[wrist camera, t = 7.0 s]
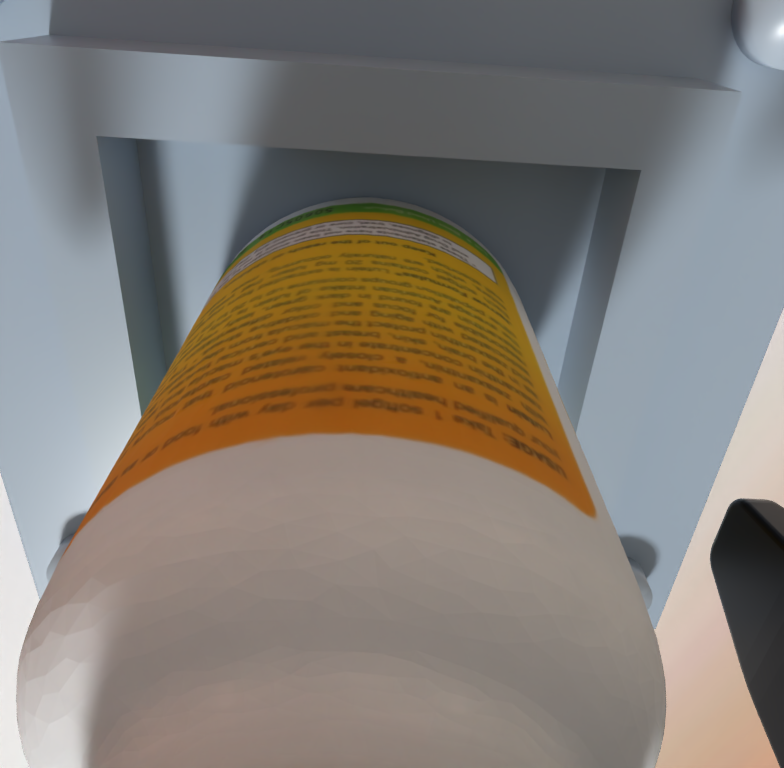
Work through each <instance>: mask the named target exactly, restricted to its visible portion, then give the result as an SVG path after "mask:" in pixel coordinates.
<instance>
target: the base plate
mask: <svg viewBox="0 0 784 768" xmlns="http://www.w3.org/2000/svg"><path fill="white" fill-rule="evenodd" d="M356 197H373V198H382V199H391V200H396V201H401V202H406V203H409V204H413V205H416V206H419V207H422V208H424V209H427V210H430V211H432V212H434V213H436V214H439V215H441V216H443V217H444V218H446V219H448V220H450V221H452V222H453V223H455V224H457V225H458V226H460V227H462V228H463V229H464V230H466V231H467V232H468V233H470V234H471V235H472V236H473V237H475V238H476V239H477V240H478V241H479V242H481V243H482V244H483V245H484V246H485V247H486V248H487V249H488V250H489V251H490V252H491V254H492V255H493V256H494V257H495V258H496V259H497V260H498V261H499V263H500V264H501V266H502V267H503V269H504V270H505V272H506V273H507V275H508V277H509V279H510V280H511V282H512V284H513V285H514V287H515V289H516V291H517V293H518V295H519V297H520V300H521V302H522V304H523V307H524V309H525V312H526V314H527V317H528V319H529V321H530V324H531V326H532V328H533V331H534V333H535V336H536V338H537V341H538V343H539V345H540V348H541V351H542V353H543V355H544V358H545V360H546V363H547V365H548V368H549V370H550V373H551V375H552V378H553V380H554V382H555V385H556V387H557V390H558V392H559V395H560V397H561V400H562V402H563V404H564V407H565V409H566V412H567V414H568V417H569V419H570V421H571V424H572V426H573V429H574V431H575V434H576V436H577V438H578V441H579V443H580V446H581V448H582V450H583V453H584V455H585V458H586V460H587V462H588V465H589V467H590V470H591V472H592V474H593V477H594V479H595V482H596V484H597V486H598V489H599V491H600V494H601V496H602V499H603V501H604V503H605V506H606V508H607V511H608V513H609V515H610V518H611V520H612V522H613V525H614V527H615V529H616V532H617V534H618V537H619V539H620V541H621V544H622V546H623V548H624V551H625V553H626V556H627V558H628V561H629V563H630V566H631V568H632V571H633V573H634V576H635V578H636V581H637V583H638V586H639V588H640V591H641V594H642V597H643V599H644V602H645V605H646V608H647V611H648V614H649V617H650V620H651V623H652V626H653V629H656V626H657V624H658V621H659V619H660V616H661V614H662V611H663V609H664V606H665V604H666V601H667V599H668V596H669V594H670V591H671V589H672V586H673V584H674V581H675V579H676V576H677V574H678V571H679V569H680V566H681V564H682V561H683V559H684V556H685V553H686V551H687V548H688V546H689V543H690V541H691V538H692V536H693V533H694V531H695V528H696V526H697V523H698V521H699V518H700V516H701V513H702V511H703V508H704V506H705V503H706V501H707V498H708V496H709V493H710V491H711V488H712V486H713V483H714V481H715V478H716V476H717V473H718V471H719V468H720V466H721V463H722V461H723V458H724V456H725V453H726V451H727V448H728V446H729V443H730V441H731V438H732V436H733V433H734V431H735V428H736V426H737V423H738V420H739V418H740V415H741V413H742V410H743V408H744V405H745V403H746V400H747V398H748V395H749V393H750V390H751V388H752V385H753V383H754V380H755V378H756V375H757V373H758V370H759V368H760V365H761V363H762V360H763V358H764V355H765V353H766V350H767V348H768V345H769V343H770V340H771V338H772V335H773V333H774V330H775V328H776V325H777V323H778V320H779V318H780V315H781V313H782V310H783V308H784V0H0V473H1V476H2V479H3V482H4V486H5V489H6V492H7V495H8V499H9V502H10V505H11V508H12V511H13V515H14V518H15V521H16V524H17V528H18V531H19V534H20V537H21V541H22V544H23V547H24V550H25V554H26V557H27V560H28V563H29V566H30V570H31V573H32V576H33V579H34V583H35V586H36V589H37V592H38V596H39V599H41V597H42V595H43V593H44V591H45V589H46V587H47V585H48V583H49V581H50V579H51V577H52V575H53V573H54V571H55V568H56V566H57V564H58V562H59V560H60V559H61V557H62V555H63V553H64V552H65V550H66V548H67V547H68V545H69V543H70V541H71V540H72V538H73V536H74V534H75V533H76V531H77V529H78V528H79V526H80V524H81V522H82V521H83V519H84V517H85V515H86V514H87V512H88V510H89V508H90V507H91V505H92V503H93V501H94V500H95V498H96V496H97V494H98V493H99V491H100V489H101V487H102V486H103V484H104V482H105V480H106V479H107V477H108V475H109V473H110V472H111V470H112V468H113V466H114V465H115V463H116V461H117V460H118V458H119V456H120V454H121V453H122V451H123V449H124V448H125V446H126V444H127V442H128V440H129V439H130V437H131V435H132V433H133V432H134V430H135V428H136V426H137V424H138V423H139V421H140V419H141V417H142V416H143V414H144V412H145V410H146V409H147V407H148V405H149V403H150V402H151V400H152V398H153V396H154V395H155V393H156V391H157V389H158V387H159V386H160V384H161V382H162V380H163V378H164V377H165V375H166V373H167V371H168V370H169V368H170V366H171V365H172V363H173V361H174V359H175V358H176V356H177V354H178V353H179V351H180V349H181V347H182V345H183V343H184V342H185V340H186V338H187V336H188V334H189V332H190V331H191V329H192V327H193V325H194V324H195V322H196V320H197V318H198V317H199V315H200V313H201V311H202V309H203V307H204V305H205V304H206V302H207V300H208V298H209V297H210V295H211V293H212V291H213V289H214V288H215V286H216V284H217V283H218V281H219V279H220V278H221V276H222V275H223V273H224V272H225V270H226V269H227V267H228V266H229V265H230V264H231V262H232V261H233V260H234V258H235V257H236V255H237V254H238V253H239V252H240V251H241V250H242V249H243V248H244V247H245V246H246V245H247V244H248V243H249V242H250V241H251V240H252V239H253V238H254V237H255V236H257V235H258V234H259V233H260V232H262V231H263V230H264V229H266V228H267V227H268V226H270V225H271V224H273V223H275V222H276V221H278V220H280V219H282V218H284V217H286V216H288V215H290V214H292V213H294V212H296V211H299V210H301V209H304V208H307V207H310V206H313V205H316V204H320V203H323V202H328V201H333V200H339V199H346V198H356Z"/></svg>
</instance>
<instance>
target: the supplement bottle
mask: <svg viewBox="0 0 784 768" xmlns="http://www.w3.org/2000/svg"><path fill="white" fill-rule="evenodd" d="M16 702H17V722H18V728H19V733H20V738H21V742H22V747H23V752H24V755H25V758H26V760H27V763H28V765H29V767H30V768H655V765H656V762H657V759H658V756H659V753H660V749H661V744H662V740H663V735H664V727H665V716H666V687H665V677H664V671H663V664H662V660H661V655H660V651H659V646H658V642H657V637H656V634H655V631H654V629H653V626H652V623H651V620H650V617H649V614H648V611H647V608H646V605H645V602H644V599H643V597H642V594H641V591H640V588H639V586H638V583H637V581H636V578H635V576H634V573H633V571H632V568H631V566H630V563H629V561H628V558H627V556H626V553H625V551H624V548H623V546H622V544H621V541H620V539H619V537H618V534H617V532H616V529H615V527H614V525H613V522H612V520H611V518H610V515H609V513H608V511H607V508H606V506H605V503H604V501H603V499H602V496H601V494H600V491H599V489H598V486H597V484H596V482H595V479H594V477H593V474H592V472H591V470H590V467H589V465H588V462H587V460H586V458H585V455H584V453H583V450H582V448H581V446H580V443H579V441H578V438H577V436H576V434H575V431H574V429H573V426H572V424H571V421H570V419H569V417H568V414H567V412H566V409H565V407H564V404H563V402H562V400H561V397H560V395H559V392H558V390H557V387H556V385H555V382H554V380H553V378H552V375H551V373H550V370H549V368H548V365H547V363H546V360H545V358H544V355H543V353H542V351H541V348H540V345H539V343H538V341H537V338H536V336H535V333H534V331H533V328H532V326H531V324H530V321H529V319H528V317H527V314H526V312H525V309H524V307H523V304H522V302H521V300H520V297H519V295H518V293H517V291H516V289H515V287H514V285H513V284H512V282H511V280H510V279H509V277H508V275H507V273H506V272H505V270H504V269H503V267H502V266H501V264H500V263H499V261H498V260H497V259H496V258H495V257H494V256H493V255H492V254H491V252H490V251H489V250H488V249H487V248H486V247H485V246H484V245H483V244H482V243H481V242H479V241H478V240H477V239H476V238H475V237H473V236H472V235H471V234H470V233H468V232H467V231H466V230H464V229H463V228H462V227H460V226H458V225H457V224H455V223H453V222H452V221H450V220H448V219H446V218H444V217H443V216H441V215H439V214H436V213H434V212H432V211H430V210H427V209H424V208H422V207H419V206H416V205H413V204H409V203H406V202H401V201H396V200H391V199H382V198H373V197H356V198H346V199H339V200H333V201H328V202H323V203H320V204H316V205H313V206H310V207H307V208H304V209H301V210H299V211H296V212H294V213H292V214H290V215H288V216H286V217H284V218H282V219H280V220H278V221H276V222H275V223H273V224H271V225H270V226H268V227H267V228H266V229H264V230H263V231H262V232H260V233H259V234H258V235H257V236H255V237H254V238H253V239H252V240H251V241H250V242H249V243H248V244H247V245H246V246H245V247H244V248H243V249H242V250H241V251H240V252H239V253H238V254H237V255H236V257H235V258H234V260H233V261H232V262H231V264H230V265H229V266H228V267H227V269H226V270H225V272H224V273H223V275H222V276H221V278H220V279H219V281H218V283H217V284H216V286H215V288H214V289H213V291H212V293H211V295H210V297H209V298H208V300H207V302H206V304H205V305H204V307H203V309H202V311H201V313H200V315H199V317H198V318H197V320H196V322H195V324H194V325H193V327H192V329H191V331H190V332H189V334H188V336H187V338H186V340H185V342H184V343H183V345H182V347H181V349H180V351H179V353H178V354H177V356H176V358H175V359H174V361H173V363H172V365H171V366H170V368H169V370H168V371H167V373H166V375H165V377H164V378H163V380H162V382H161V384H160V386H159V387H158V389H157V391H156V393H155V395H154V396H153V398H152V400H151V402H150V403H149V405H148V407H147V409H146V410H145V412H144V414H143V416H142V417H141V419H140V421H139V423H138V424H137V426H136V428H135V430H134V432H133V433H132V435H131V437H130V439H129V440H128V442H127V444H126V446H125V448H124V449H123V451H122V453H121V454H120V456H119V458H118V460H117V461H116V463H115V465H114V466H113V468H112V470H111V472H110V473H109V475H108V477H107V479H106V480H105V482H104V484H103V486H102V487H101V489H100V491H99V493H98V494H97V496H96V498H95V500H94V501H93V503H92V505H91V507H90V508H89V510H88V512H87V514H86V515H85V517H84V519H83V521H82V522H81V524H80V526H79V528H78V529H77V531H76V533H75V534H74V536H73V538H72V540H71V541H70V543H69V545H68V547H67V548H66V550H65V552H64V553H63V555H62V557H61V559H60V560H59V562H58V564H57V566H56V568H55V571H54V573H53V575H52V577H51V579H50V581H49V583H48V585H47V587H46V589H45V591H44V593H43V595H42V597H41V599H40V601H39V603H38V605H37V608H36V610H35V613H34V615H33V618H32V620H31V623H30V625H29V628H28V631H27V634H26V637H25V640H24V643H23V647H22V650H21V654H20V658H19V665H18V673H17V694H16Z"/></svg>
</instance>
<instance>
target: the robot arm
mask: <svg viewBox="0 0 784 768" xmlns="http://www.w3.org/2000/svg"><path fill="white" fill-rule="evenodd" d="M710 562H711V568H712V572H713V576H714V579H715V582H716V586H717V589H718V592H719V596H720V599H721V602H722V606H723V609H724V612H725V616H726V619H727V622H728V626H729V629H730V633H731V636H732V639H733V643H734V646H735V649H736V653H737V656H738V659H739V663H740V666H741V669H742V672H743V675H744V678H745V681H746V684H747V687H748V690H749V692H750V695H751V697H752V700H753V703H754V705H755V708H756V710H757V713H758V715H759V717H760V720H761V722H762V725H763V727H764V729H765V732H766V734H767V737H768V739H769V741H770V744H771V746H772V749H773V751H774V754H775V756H776V758H777V761H778V763H779V766H780V768H784V508H783V507H781V506H780V505H778V504H777V503H775V502H773V501H770V500H763V499H737V500H735V501H733V502H732V503H731V504H730V506H729V507H728V509H727V512H726V514H725V517H724V519H723V521H722V524H721V526H720V528H719V531H718V533H717V535H716V538H715V540H714V543H713V545H712V548H711V553H710Z"/></svg>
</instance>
